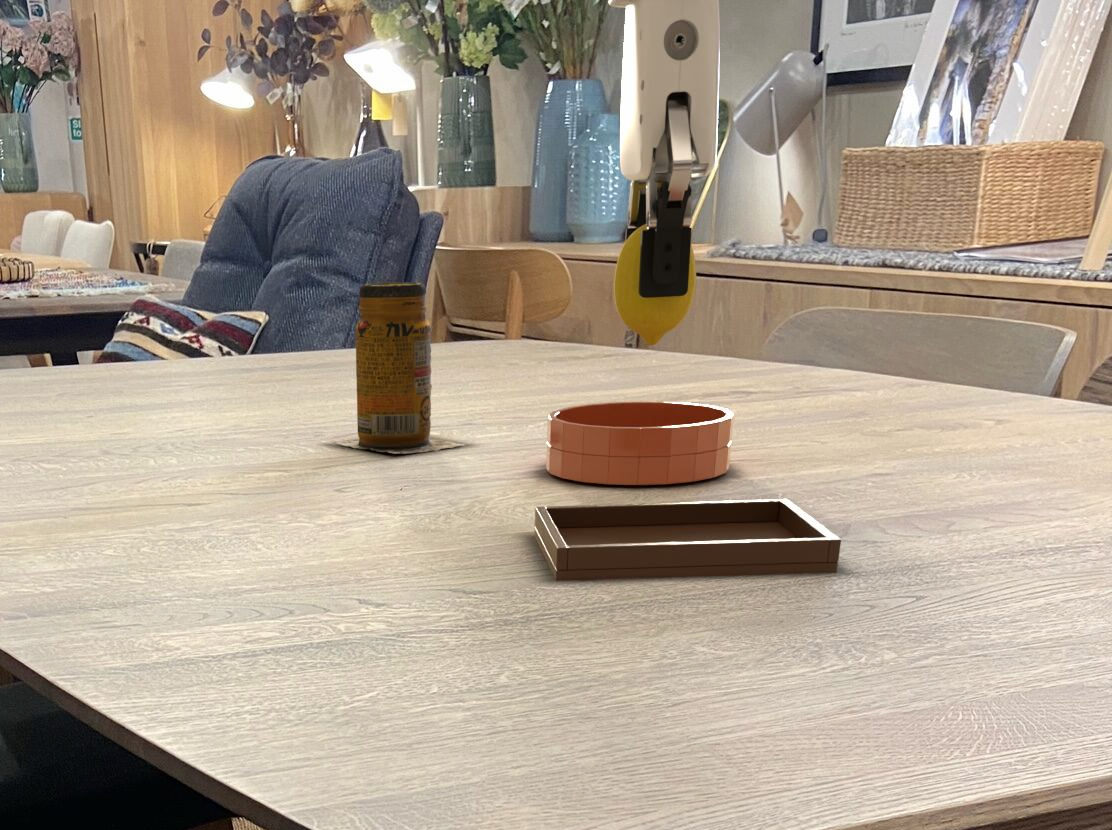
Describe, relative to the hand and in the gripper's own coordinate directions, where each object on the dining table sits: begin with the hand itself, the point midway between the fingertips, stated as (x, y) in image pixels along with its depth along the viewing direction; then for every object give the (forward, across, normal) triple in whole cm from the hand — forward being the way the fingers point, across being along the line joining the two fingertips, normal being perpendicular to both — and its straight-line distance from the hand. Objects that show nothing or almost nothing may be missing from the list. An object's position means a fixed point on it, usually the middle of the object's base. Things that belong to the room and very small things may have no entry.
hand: (654, 290), depth 99 cm
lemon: (+4, 0, 0) cm, 4 cm away
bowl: (+12, 0, +1) cm, 12 cm away
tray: (+12, -26, +3) cm, 28 cm away
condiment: (+12, +16, +18) cm, 26 cm away
